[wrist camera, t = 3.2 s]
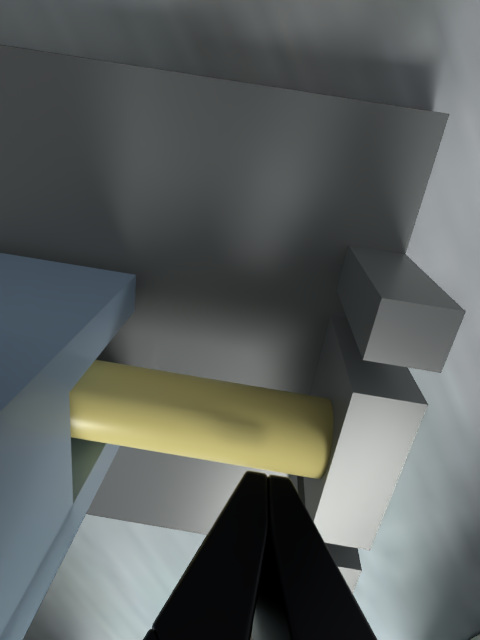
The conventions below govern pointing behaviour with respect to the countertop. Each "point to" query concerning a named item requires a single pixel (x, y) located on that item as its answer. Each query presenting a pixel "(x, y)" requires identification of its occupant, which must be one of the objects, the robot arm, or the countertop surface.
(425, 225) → the countertop surface
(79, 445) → the sleeve
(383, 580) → the countertop surface
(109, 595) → the countertop surface
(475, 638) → the medicine bottle
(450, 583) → the countertop surface
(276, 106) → the sliding rail with carriage
